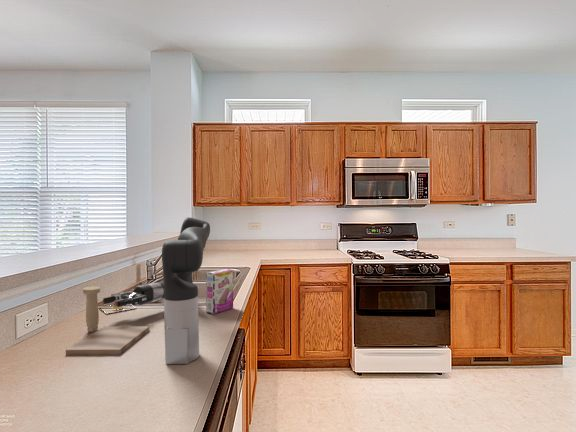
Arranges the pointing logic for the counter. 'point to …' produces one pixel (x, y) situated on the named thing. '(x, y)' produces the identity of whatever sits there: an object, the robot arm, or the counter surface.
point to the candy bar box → (219, 291)
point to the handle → (92, 307)
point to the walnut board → (108, 341)
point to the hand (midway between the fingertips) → (110, 302)
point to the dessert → (119, 307)
